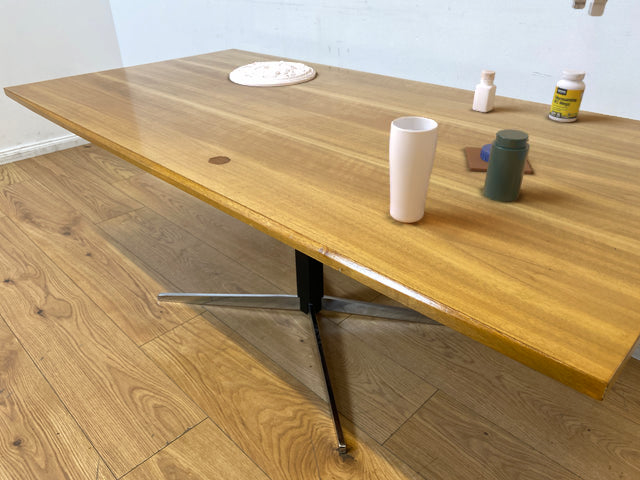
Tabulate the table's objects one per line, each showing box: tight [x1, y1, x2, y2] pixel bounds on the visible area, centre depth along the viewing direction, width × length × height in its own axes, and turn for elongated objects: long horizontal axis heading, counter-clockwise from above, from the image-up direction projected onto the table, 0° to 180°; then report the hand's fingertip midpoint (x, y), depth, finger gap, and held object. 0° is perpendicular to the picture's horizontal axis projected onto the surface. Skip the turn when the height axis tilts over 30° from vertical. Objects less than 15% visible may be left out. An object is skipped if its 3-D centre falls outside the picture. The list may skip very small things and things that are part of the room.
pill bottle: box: [548, 68, 586, 123], centre depth 113 cm, size 6×6×11 cm
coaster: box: [464, 146, 533, 175], centre depth 95 cm, size 11×11×1 cm
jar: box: [482, 128, 531, 203], centre depth 80 cm, size 6×6×11 cm
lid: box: [480, 143, 492, 162], centre depth 94 cm, size 6×6×2 cm
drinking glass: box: [388, 116, 439, 224], centre depth 73 cm, size 7×7×15 cm
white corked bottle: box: [472, 69, 497, 113], centre depth 121 cm, size 4×4×10 cm
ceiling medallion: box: [229, 60, 317, 87], centre depth 158 cm, size 28×28×3 cm
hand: (585, 12), depth 78 cm, fingers open, 8 cm apart
